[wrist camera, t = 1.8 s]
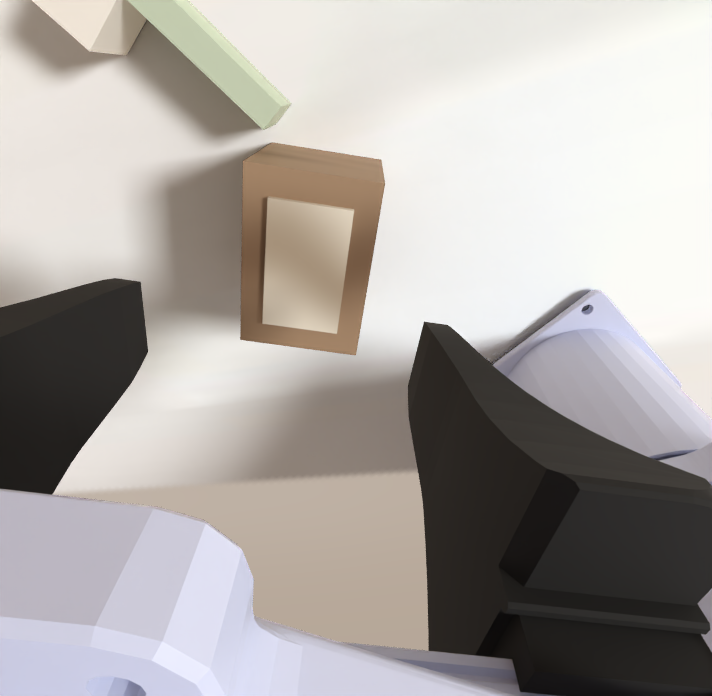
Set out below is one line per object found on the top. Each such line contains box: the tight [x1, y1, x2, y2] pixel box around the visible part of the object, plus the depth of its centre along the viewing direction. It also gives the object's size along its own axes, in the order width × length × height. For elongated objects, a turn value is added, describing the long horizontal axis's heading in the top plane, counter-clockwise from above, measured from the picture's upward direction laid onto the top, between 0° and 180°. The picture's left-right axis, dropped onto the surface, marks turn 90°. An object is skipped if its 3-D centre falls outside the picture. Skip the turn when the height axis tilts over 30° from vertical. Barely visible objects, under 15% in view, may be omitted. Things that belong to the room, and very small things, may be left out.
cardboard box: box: [240, 143, 385, 355], centre depth 18 cm, size 6×4×5 cm
